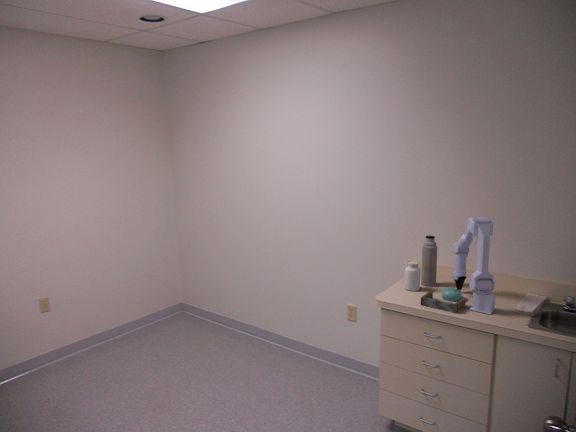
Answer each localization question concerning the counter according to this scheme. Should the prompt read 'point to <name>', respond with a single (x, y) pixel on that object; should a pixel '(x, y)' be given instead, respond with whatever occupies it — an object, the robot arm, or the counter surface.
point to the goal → (442, 303)
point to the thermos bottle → (429, 262)
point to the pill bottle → (412, 277)
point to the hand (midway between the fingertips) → (459, 289)
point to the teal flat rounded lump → (451, 294)
